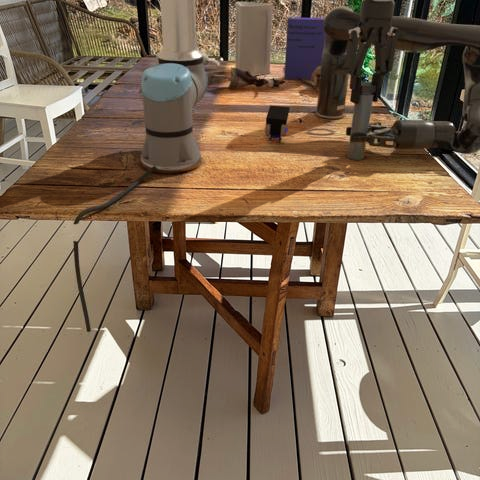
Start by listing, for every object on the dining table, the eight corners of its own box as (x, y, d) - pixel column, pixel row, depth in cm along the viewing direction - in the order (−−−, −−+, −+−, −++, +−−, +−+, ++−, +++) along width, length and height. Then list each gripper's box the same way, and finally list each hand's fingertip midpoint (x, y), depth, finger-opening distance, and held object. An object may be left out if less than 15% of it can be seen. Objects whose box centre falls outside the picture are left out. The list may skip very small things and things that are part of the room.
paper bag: (273, 76, 210) (276, 6, 196) (239, 77, 209) (240, 6, 194) (266, 67, 226) (268, 2, 212) (235, 67, 225) (235, 1, 210)
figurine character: (286, 149, 136) (289, 127, 148) (287, 124, 131) (290, 104, 143) (262, 148, 137) (267, 126, 149) (263, 123, 132) (268, 103, 144)
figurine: (210, 87, 179) (288, 95, 182) (212, 65, 176) (291, 73, 180) (208, 84, 201) (278, 91, 205) (210, 64, 198) (280, 71, 202)
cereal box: (323, 77, 210) (330, 17, 198) (324, 80, 206) (331, 19, 193) (284, 76, 211) (287, 16, 198) (284, 78, 207) (288, 18, 194)
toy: (175, 75, 210) (174, 58, 206) (151, 64, 228) (150, 49, 224) (222, 69, 222) (222, 53, 218) (195, 59, 239) (195, 45, 236)
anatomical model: (320, 94, 199) (320, 96, 185) (305, 80, 198) (304, 80, 184) (342, 71, 195) (344, 70, 181) (327, 56, 194) (328, 54, 180)
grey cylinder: (355, 161, 126) (365, 90, 116) (343, 155, 129) (353, 86, 120) (367, 158, 128) (378, 88, 118) (355, 153, 131) (365, 84, 122)
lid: (354, 88, 122) (355, 81, 121) (374, 89, 121) (375, 82, 120) (355, 92, 118) (356, 85, 117) (376, 93, 117) (377, 86, 116)
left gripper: (353, 1, 103) (340, 108, 115) (421, 0, 109) (402, 102, 121) (335, -2, 109) (325, 100, 121) (401, -3, 115) (384, 95, 127)
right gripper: (419, 158, 122) (352, 157, 121) (401, 139, 134) (341, 139, 133) (425, 129, 118) (356, 129, 117) (406, 112, 130) (344, 112, 129)
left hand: (363, 101), depth 121 cm, fingers closed on lid, 5 cm apart
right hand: (348, 134), depth 125 cm, fingers closed on grey cylinder, 4 cm apart
